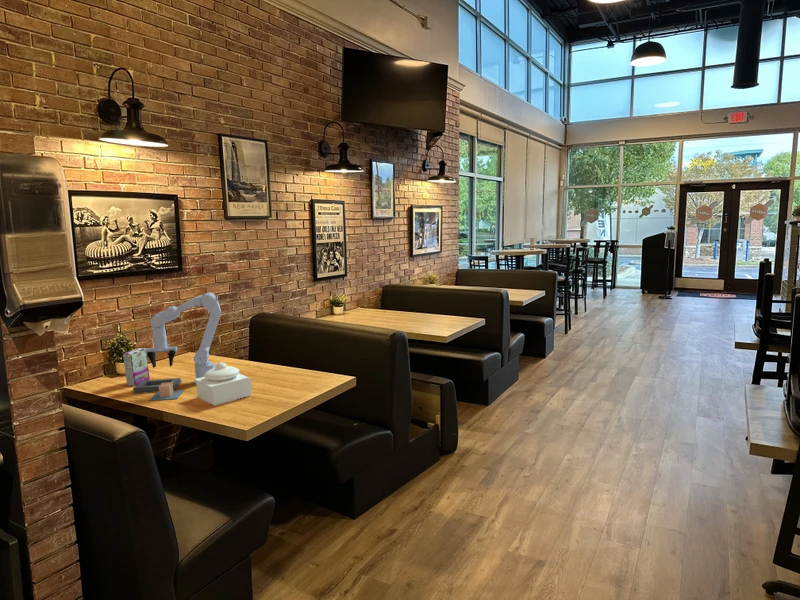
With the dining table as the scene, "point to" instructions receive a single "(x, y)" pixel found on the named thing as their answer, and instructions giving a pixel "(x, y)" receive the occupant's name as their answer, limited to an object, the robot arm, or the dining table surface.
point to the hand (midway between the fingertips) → (162, 366)
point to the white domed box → (223, 385)
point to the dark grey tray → (154, 385)
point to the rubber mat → (173, 396)
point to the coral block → (166, 389)
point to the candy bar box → (136, 366)
